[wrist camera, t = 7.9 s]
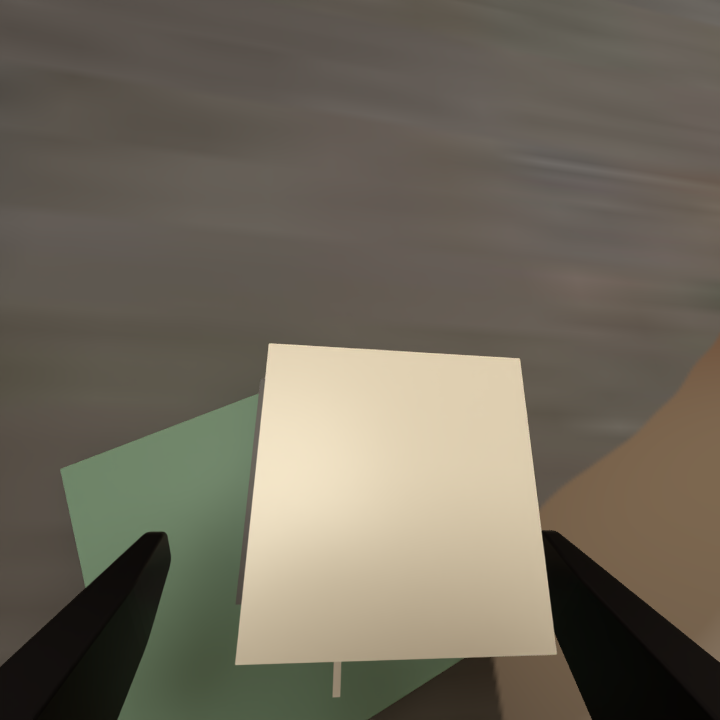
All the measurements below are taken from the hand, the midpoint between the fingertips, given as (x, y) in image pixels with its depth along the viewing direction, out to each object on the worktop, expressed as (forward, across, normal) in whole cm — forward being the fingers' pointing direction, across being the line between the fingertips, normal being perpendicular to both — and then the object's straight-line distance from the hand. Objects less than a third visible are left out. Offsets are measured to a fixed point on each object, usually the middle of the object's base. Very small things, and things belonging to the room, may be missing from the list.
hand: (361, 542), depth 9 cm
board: (+6, +2, +7) cm, 9 cm away
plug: (+7, 0, +5) cm, 8 cm away
